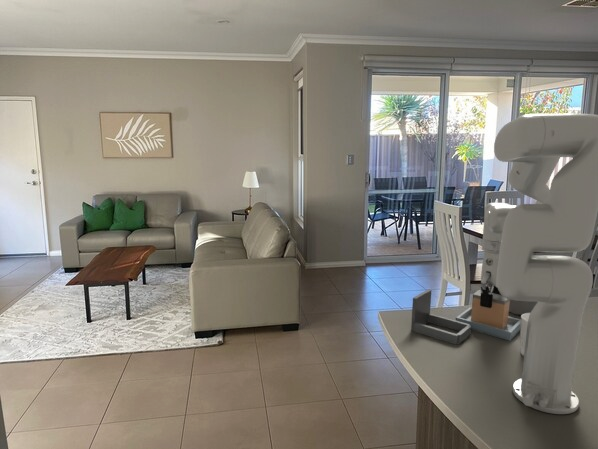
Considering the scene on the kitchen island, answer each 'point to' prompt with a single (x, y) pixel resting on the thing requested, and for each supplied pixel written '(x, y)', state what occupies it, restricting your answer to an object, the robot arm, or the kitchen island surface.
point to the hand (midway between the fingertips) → (491, 302)
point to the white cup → (523, 331)
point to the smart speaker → (521, 307)
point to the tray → (506, 333)
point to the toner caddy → (491, 311)
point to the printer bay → (435, 321)
